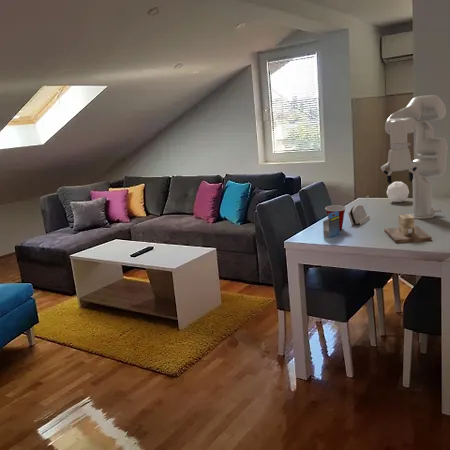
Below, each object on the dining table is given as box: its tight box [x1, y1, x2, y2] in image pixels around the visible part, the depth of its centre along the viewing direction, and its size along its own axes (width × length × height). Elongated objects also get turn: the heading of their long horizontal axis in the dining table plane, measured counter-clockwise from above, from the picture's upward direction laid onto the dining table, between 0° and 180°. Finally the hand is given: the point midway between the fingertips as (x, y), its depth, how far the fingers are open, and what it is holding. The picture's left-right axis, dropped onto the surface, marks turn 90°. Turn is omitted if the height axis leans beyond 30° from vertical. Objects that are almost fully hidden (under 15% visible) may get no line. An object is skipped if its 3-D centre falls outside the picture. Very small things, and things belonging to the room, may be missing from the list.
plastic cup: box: [324, 204, 347, 231], centre depth 260 cm, size 11×11×12 cm
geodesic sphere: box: [386, 180, 410, 203], centre depth 311 cm, size 14×14×14 cm
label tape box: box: [322, 211, 340, 239], centre depth 248 cm, size 9×4×12 cm, turn 133°
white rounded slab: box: [348, 204, 371, 226], centre depth 272 cm, size 17×5×10 cm, turn 147°
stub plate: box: [384, 225, 432, 244], centre depth 235 cm, size 16×22×5 cm
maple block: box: [398, 213, 415, 235], centre depth 234 cm, size 5×8×8 cm, turn 175°
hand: (400, 182), depth 236 cm, fingers open, 9 cm apart
